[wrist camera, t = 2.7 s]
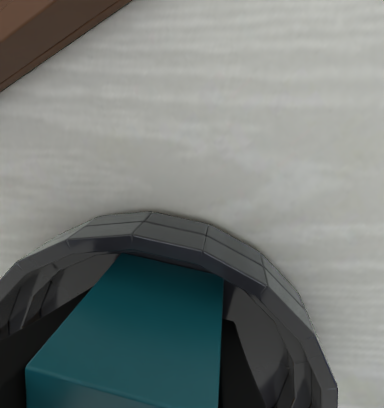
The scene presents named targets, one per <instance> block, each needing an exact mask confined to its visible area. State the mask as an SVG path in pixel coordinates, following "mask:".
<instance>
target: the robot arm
mask: <svg viewBox="0 0 384 408" xmlns="http://www.w3.org/2000/svg"><path fill="white" fill-rule="evenodd" d="M91 288H92V287H91ZM91 288H89V289H88V290H86V291H84V292H83V293H81V294H80V295H78V296H76V297H75V298H73V299H72V300H70V301H68V302H67V303H65V304H63V305H62V306H60V307H59V308H57V309H55V310H54V311H52V312H50V313H49V314H47V315H45V316H44V317H42V318H40V319H39V320H37V321H35V322H33V323H32V324H30V325H28V326H26V327H24V328H23V329H21V330H19V331H17V332H15V333H13V334H12V335H10V336H8V337H6V338H4V339H3V340H1V341H0V408H26V383H25V368H26V366H27V364H28V363H29V362H30V360H31V359H32V358H33V357H34V356H35V355H36V353H37V352H38V351H39V350H40V349H41V348H42V346H43V345H44V344H45V343H46V342H47V340H48V339H49V338H50V337H51V336H52V335H53V333H54V332H55V331H56V330H57V329H58V327H59V326H60V325H61V324H62V323H63V322H64V320H65V319H66V318H67V317H68V316H69V314H70V313H71V312H72V311H73V310H74V309H75V307H76V306H77V305H78V304H79V303H80V301H81V300H82V299H83V298H84V297H85V296H86V294H87V293H88V292H89V291H90V290H91ZM218 408H267V407H266V404H265V402H264V400H263V398H262V396H261V393H260V391H259V389H258V386H257V384H256V381H255V379H254V376H253V374H252V371H251V369H250V367H249V364H248V361H247V359H246V356H245V353H244V350H243V347H242V344H241V341H240V338H239V335H238V331H237V328H236V324H235V323H234V321H230V320H226V319H222V332H221V355H220V378H219V401H218Z"/></svg>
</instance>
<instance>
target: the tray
mask: <svg viewBox="0 0 384 408" xmlns="http://www.w3.org/2000/svg"><path fill="white" fill-rule="evenodd" d="M130 1H132V0H0V92H1V91H2V90H3V89H5V88H6V87H8V86H9V85H11V84H12V83H13V82H15V81H16V80H18V79H19V78H21V77H22V76H24V75H25V74H26V73H28V72H29V71H31V70H32V69H34V68H35V67H37V66H38V65H39V64H41V63H42V62H44V61H45V60H47V59H48V58H50V57H51V56H52V55H54V54H55V53H57V52H58V51H60V50H61V49H62V48H64V47H65V46H67V45H68V44H70V43H71V42H73V41H74V40H75V39H77V38H78V37H80V36H81V35H83V34H84V33H86V32H87V31H88V30H90V29H91V28H93V27H94V26H96V25H97V24H99V23H100V22H101V21H103V20H104V19H106V18H107V17H109V16H110V15H111V14H113V13H114V12H116V11H117V10H119V9H120V8H122V7H123V6H124V5H126V4H127V3H129V2H130Z"/></svg>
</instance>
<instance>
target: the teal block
mask: <svg viewBox="0 0 384 408" xmlns="http://www.w3.org/2000/svg"><path fill="white" fill-rule="evenodd" d="M223 286H224V279H223V278H221V277H219V276H217V275H215V274H211V273H207V272H203V271H198V270H194V269H190V268H185V267H181V266H177V265H172V264H168V263H164V262H160V261H155V260H151V259H147V258H142V257H138V256H134V255H129V254H125V253H121V254H120V255H119V257H118V258H117V259H116V260H115V261H114V263H113V264H112V265H111V266H110V267H109V268H108V270H107V271H106V272H105V273H104V274H103V276H102V277H101V278H100V279H99V280H98V281H97V283H96V284H95V285H94V286H93V287H92V288H91V290H90V291H89V292H88V293H87V294H86V296H85V297H84V298H83V299H82V300H81V301H80V303H79V304H78V305H77V306H76V307H75V309H74V310H73V311H72V312H71V313H70V314H69V316H68V317H67V318H66V319H65V320H64V322H63V323H62V324H61V325H60V326H59V327H58V329H57V330H56V331H55V332H54V333H53V335H52V336H51V337H50V338H49V339H48V340H47V342H46V343H45V344H44V345H43V346H42V348H41V349H40V350H39V351H38V352H37V353H36V355H35V356H34V357H33V358H32V359H31V360H30V362H29V363H28V364H27V366H26V368H25V383H26V408H218V401H219V378H220V355H221V332H222V309H223Z"/></svg>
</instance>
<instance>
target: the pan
mask: <svg viewBox="0 0 384 408" xmlns="http://www.w3.org/2000/svg"><path fill="white" fill-rule="evenodd" d="M121 253H125V254H129V255H134V256H138V257H142V258H147V259H151V260H155V261H160V262H164V263H168V264H172V265H177V266H181V267H185V268H190V269H194V270H198V271H203V272H207V273H211V274H215V275H217V276H219V277H221V278H223V279H224V286H223V309H222V319H226V320H230V321H234V323H235V324H236V328H237V331H238V335H239V338H240V341H241V344H242V347H243V350H244V353H245V356H246V359H247V361H248V364H249V367H250V369H251V371H252V374H253V376H254V379H255V381H256V384H257V386H258V389H259V391H260V393H261V396H262V398H263V400H264V402H265V404H266V407H267V408H338V387H337V383H336V381H335V378H334V376H333V373H332V371H331V368H330V366H329V364H328V361H327V359H326V356H325V354H324V351H323V349H322V346H321V344H320V342H319V339H318V337H317V334H316V332H315V330H314V327H313V325H312V323H311V320H310V318H309V316H308V314H307V311H306V309H305V307H304V304H303V302H302V300H301V297H300V295H299V293H298V292H297V291H296V289H295V288H294V287H293V286H292V285H291V284H290V283H289V282H288V281H287V280H286V279H285V278H284V277H283V276H282V275H281V274H280V273H279V272H278V270H277V269H276V268H275V267H274V266H273V265H272V264H271V263H270V262H269V261H268V260H267V259H266V258H265V257H264V256H263V255H262V254H261V253H260V252H259V251H257V250H255V249H254V248H252V247H250V246H248V245H246V244H245V243H243V242H241V241H239V240H237V239H236V238H234V237H232V236H230V235H228V234H227V233H225V232H223V231H221V230H219V229H217V228H216V227H214V226H212V225H208V224H206V223H202V222H197V221H193V220H188V219H184V218H179V217H174V216H170V215H165V214H161V213H156V212H153V213H152V212H151V211H149V212H139V213H128V214H117V215H106V216H100V217H96V218H94V219H92V220H90V221H88V222H85V223H83V224H81V225H79V226H77V227H75V228H72V229H70V230H68V231H66V232H64V233H62V234H59V235H57V236H56V237H54V238H53V239H51V240H50V241H48V242H47V243H45V244H43V245H42V246H41V247H39V248H37V249H36V250H34V251H32V252H31V253H29V254H28V255H26V256H25V257H23V258H21V259H20V260H18V261H17V262H16V263H15V264H14V265H13V266H12V267H11V268H10V269H9V271H8V272H7V273H6V274H5V275H4V276H3V277H2V278H1V279H0V341H1V340H3V339H4V338H6V337H8V336H10V335H12V334H13V333H15V332H17V331H19V330H21V329H23V328H24V327H26V326H28V325H30V324H32V323H33V322H35V321H37V320H39V319H40V318H42V317H44V316H45V315H47V314H49V313H50V312H52V311H54V310H55V309H57V308H59V307H60V306H62V305H63V304H65V303H67V302H68V301H70V300H72V299H73V298H75V297H76V296H78V295H80V294H81V293H83V292H84V291H86V290H88V289H89V288H91V287H93V286H94V285H95V284H96V283H97V281H98V280H99V279H100V278H101V277H102V276H103V274H104V273H105V272H106V271H107V270H108V268H109V267H110V266H111V265H112V264H113V263H114V261H115V260H116V259H117V258H118V257H119V255H120V254H121Z"/></svg>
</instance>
